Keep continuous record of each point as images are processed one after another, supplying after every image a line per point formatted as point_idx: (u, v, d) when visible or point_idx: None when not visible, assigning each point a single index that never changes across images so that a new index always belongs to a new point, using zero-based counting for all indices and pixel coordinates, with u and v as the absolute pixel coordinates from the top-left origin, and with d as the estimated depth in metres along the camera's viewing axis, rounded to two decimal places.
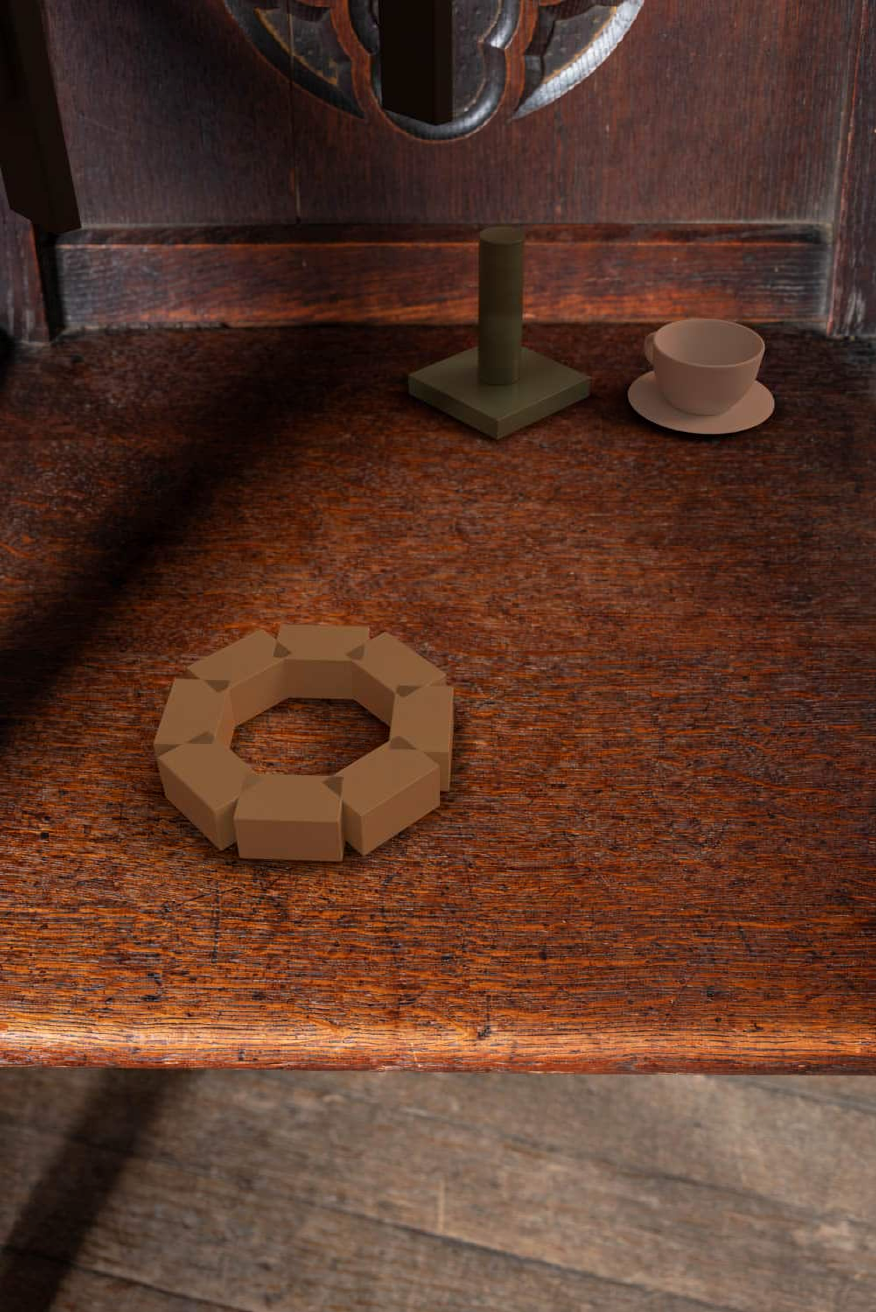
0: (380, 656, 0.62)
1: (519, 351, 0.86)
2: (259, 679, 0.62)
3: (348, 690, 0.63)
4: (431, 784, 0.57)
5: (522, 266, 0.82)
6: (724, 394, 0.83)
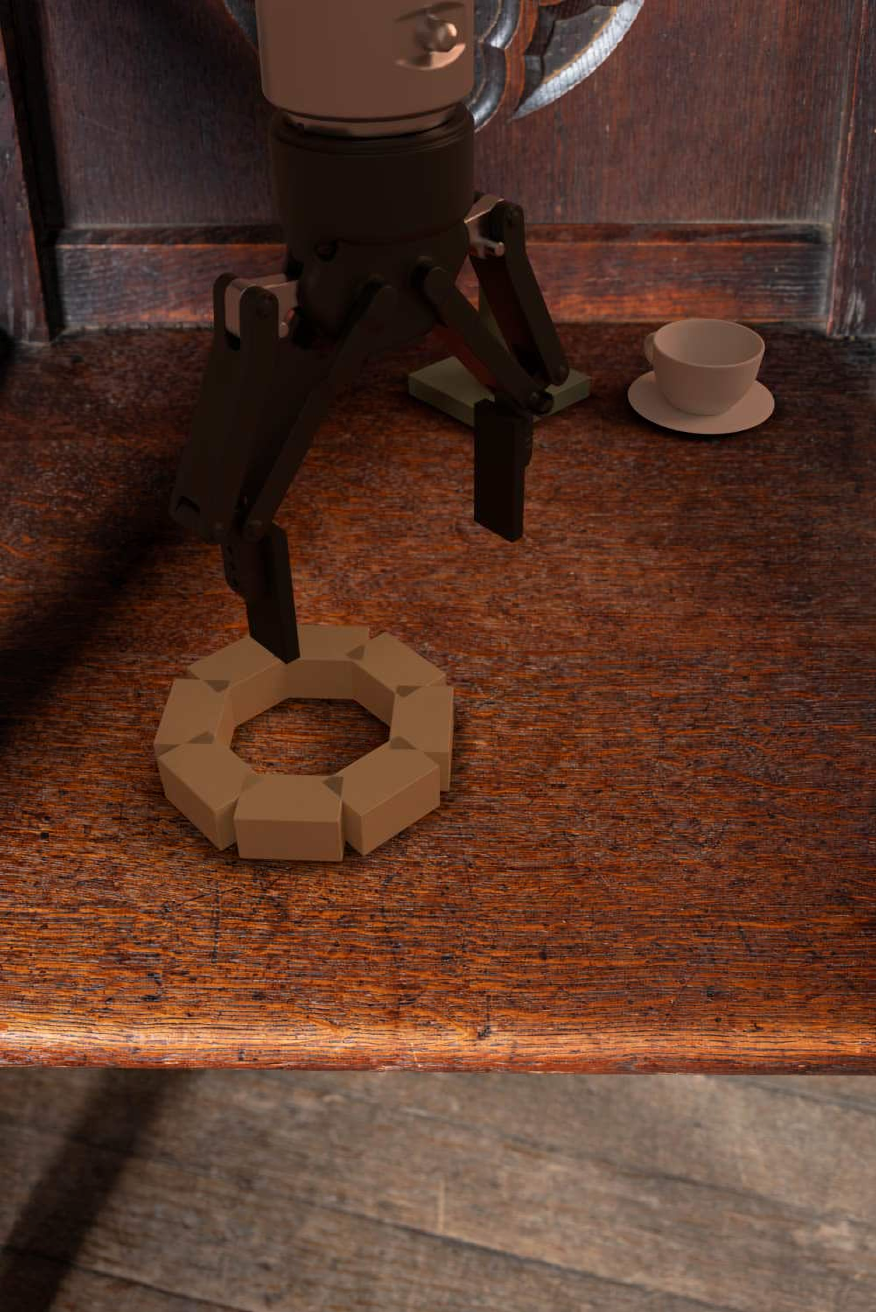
0: (380, 656, 0.62)
1: None
2: (259, 679, 0.62)
3: (348, 690, 0.63)
4: (431, 784, 0.57)
5: None
6: (724, 394, 0.83)
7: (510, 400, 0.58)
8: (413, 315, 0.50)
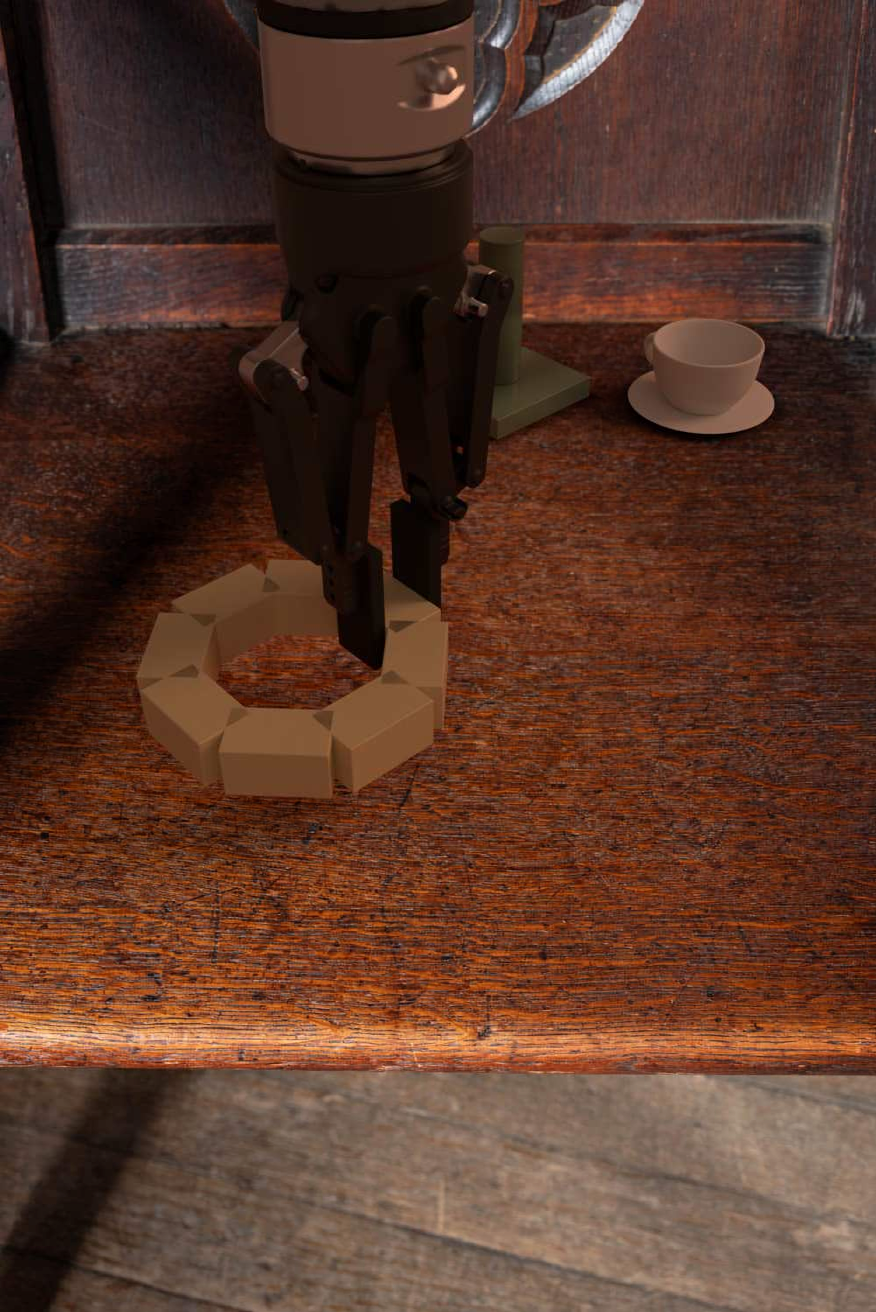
0: None
1: (519, 351, 0.86)
2: (247, 614, 0.60)
3: None
4: (424, 720, 0.54)
5: (522, 266, 0.82)
6: (724, 394, 0.83)
7: (425, 496, 0.57)
8: (411, 343, 0.51)
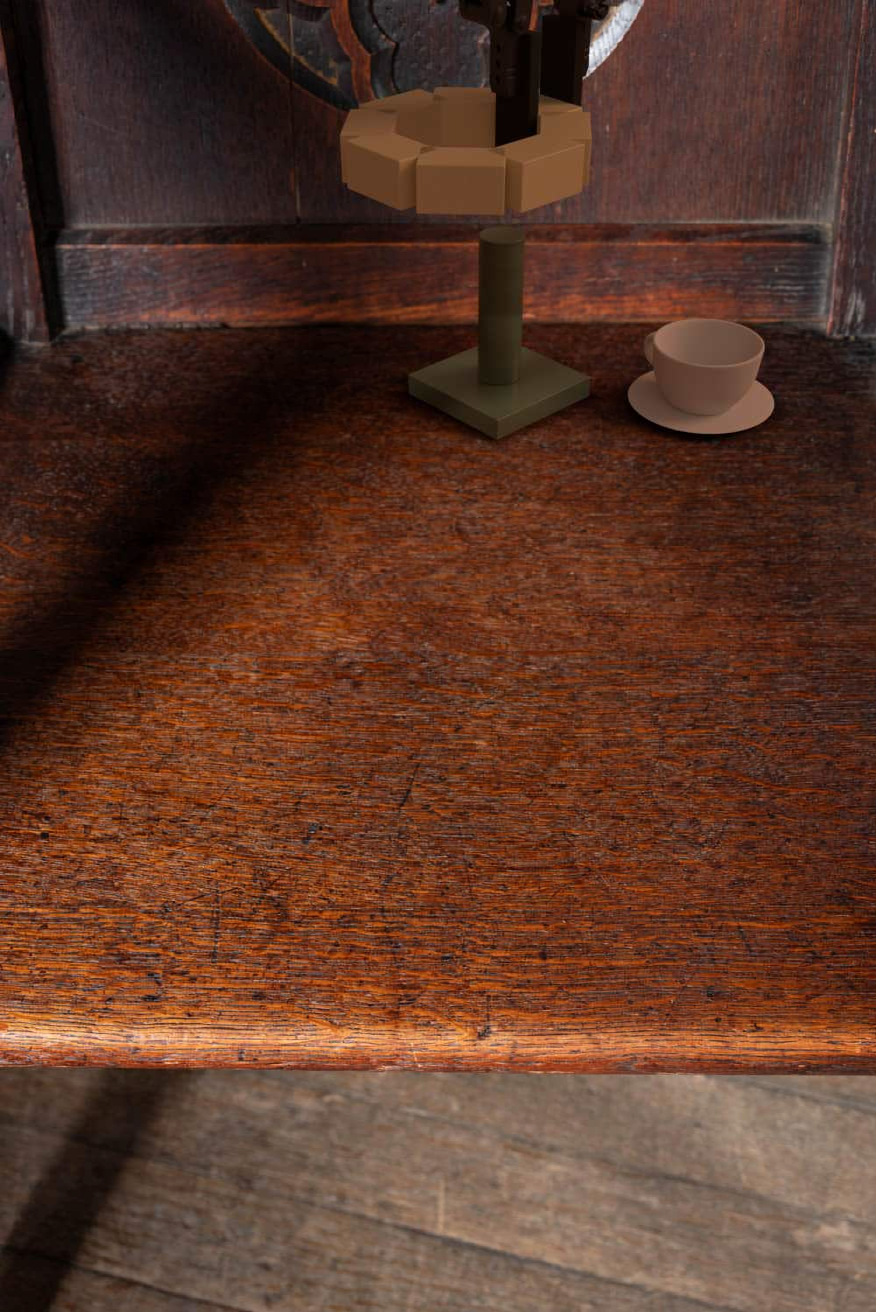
0: None
1: (519, 351, 0.86)
2: (422, 115, 0.72)
3: None
4: (577, 162, 0.67)
5: (522, 266, 0.82)
6: (724, 394, 0.83)
7: (573, 2, 0.70)
8: None
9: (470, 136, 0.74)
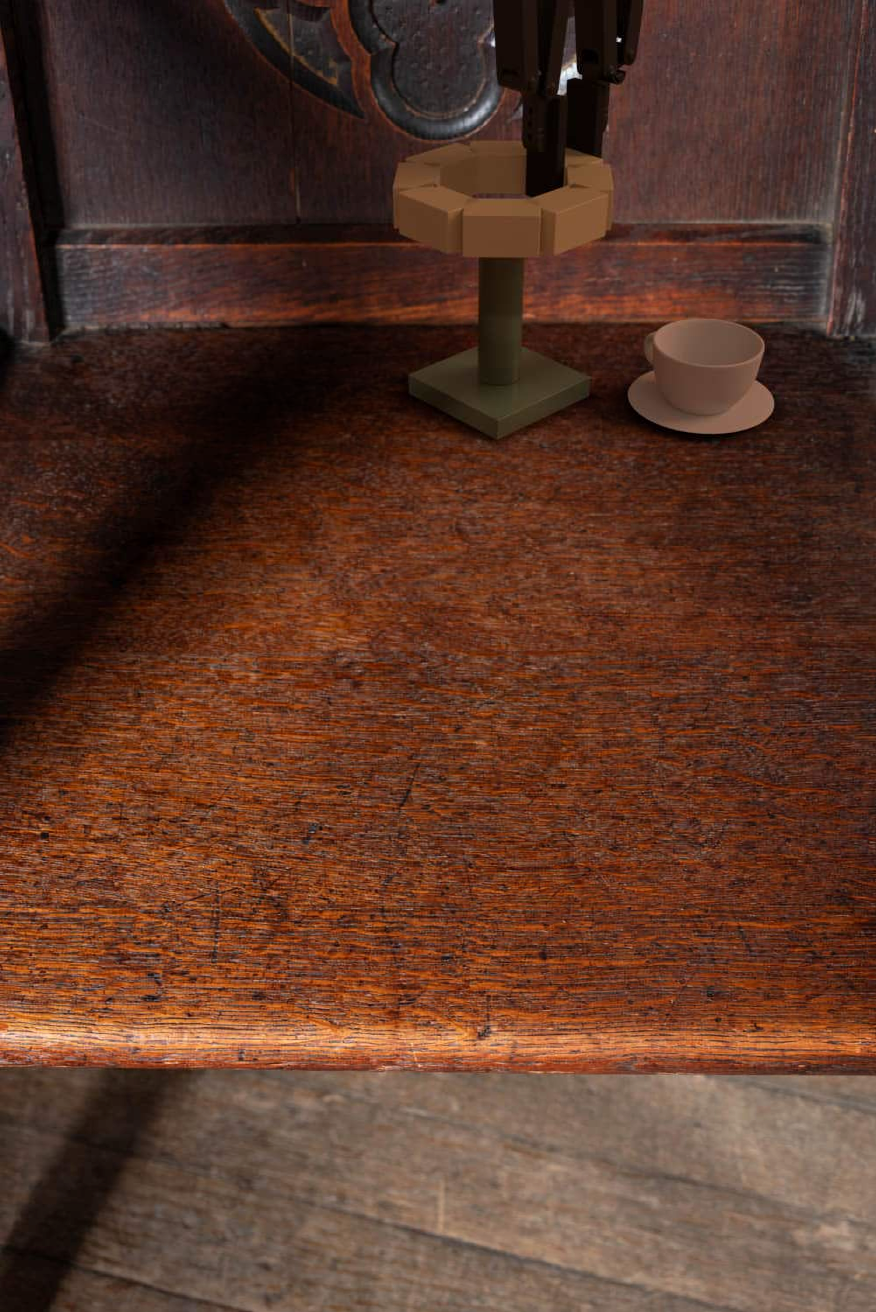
0: None
1: (519, 351, 0.86)
2: (461, 167, 0.82)
3: (525, 185, 0.83)
4: (601, 210, 0.77)
5: (522, 266, 0.82)
6: (724, 394, 0.83)
7: (594, 68, 0.79)
8: None
9: (503, 184, 0.83)
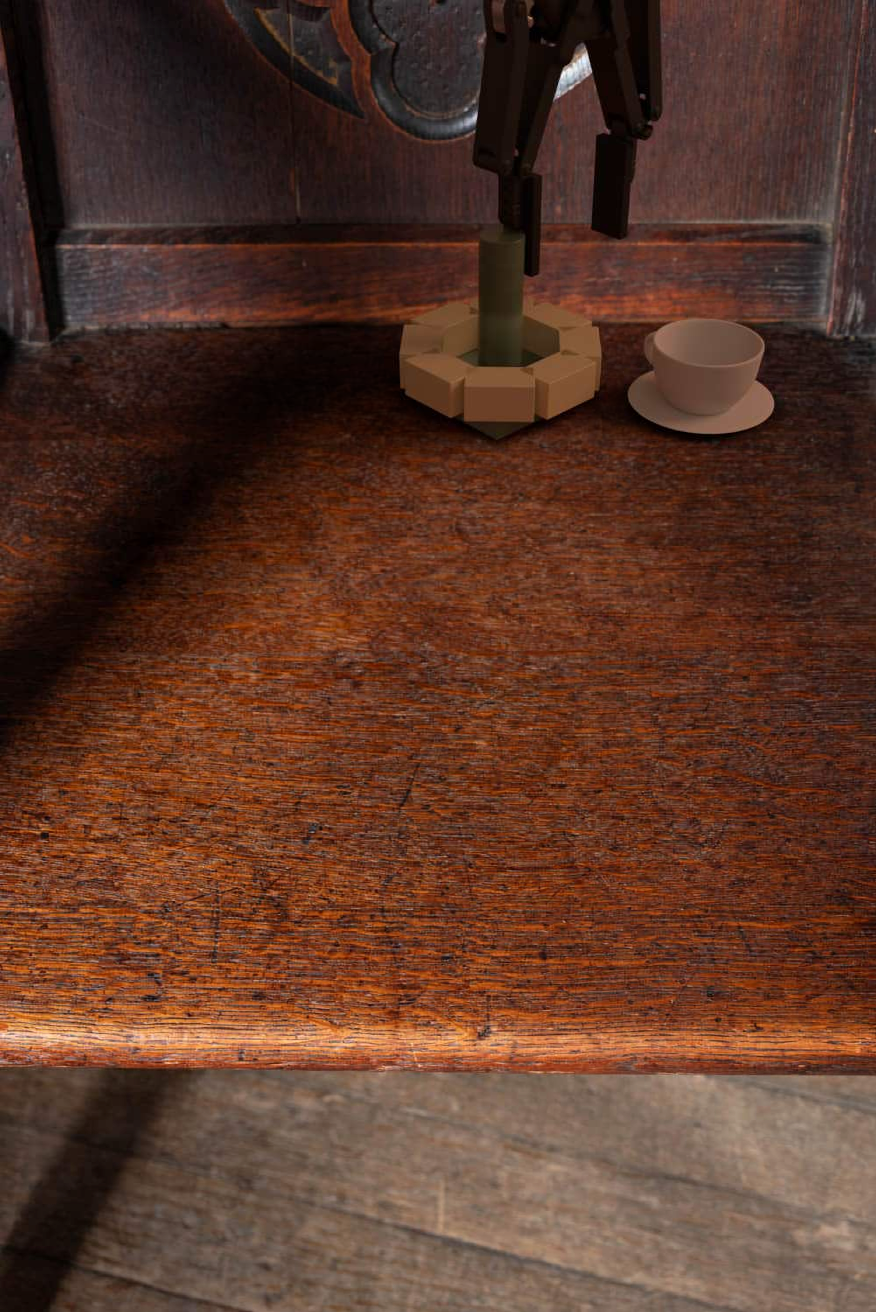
0: (544, 313, 0.89)
1: (519, 351, 0.86)
2: (461, 327, 0.89)
3: None
4: (590, 376, 0.84)
5: (522, 266, 0.82)
6: (724, 394, 0.83)
7: (622, 127, 0.84)
8: (598, 16, 0.77)
9: None
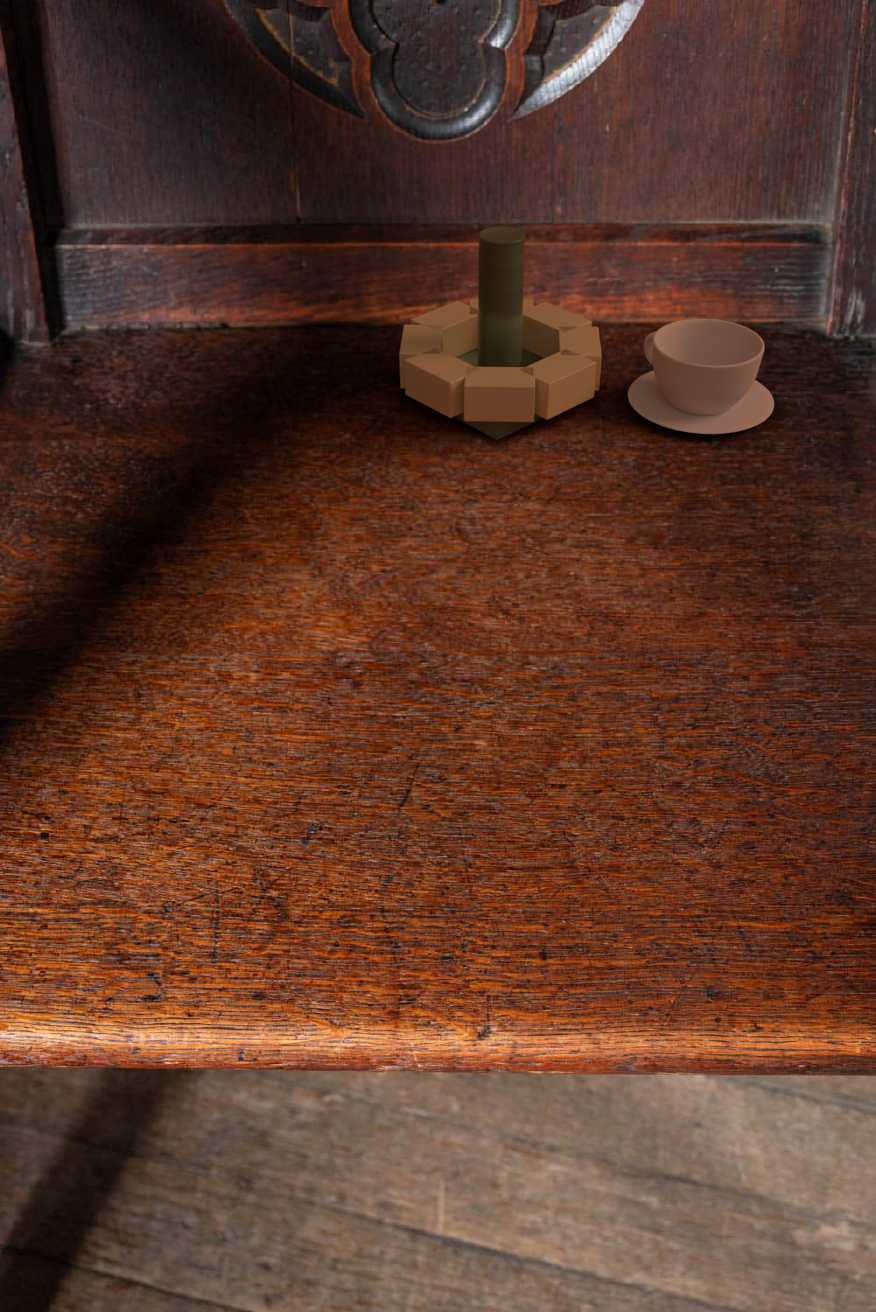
0: (544, 313, 0.89)
1: (519, 351, 0.86)
2: (461, 327, 0.89)
3: None
4: (590, 376, 0.84)
5: (522, 266, 0.82)
6: (724, 394, 0.83)
7: None
8: None
9: None
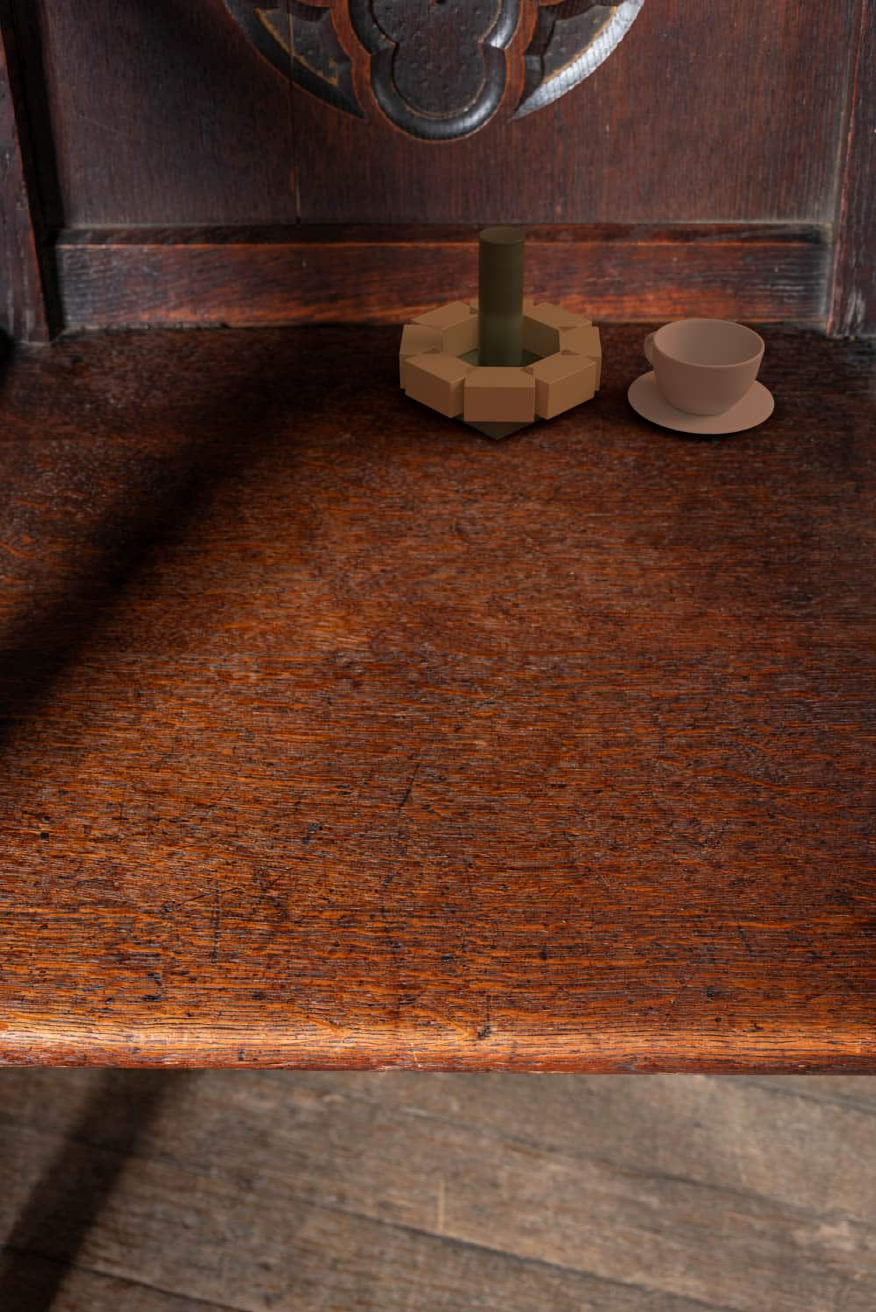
0: (544, 313, 0.89)
1: (519, 351, 0.86)
2: (461, 327, 0.89)
3: None
4: (590, 376, 0.84)
5: (522, 266, 0.82)
6: (724, 394, 0.83)
7: None
8: None
9: None
